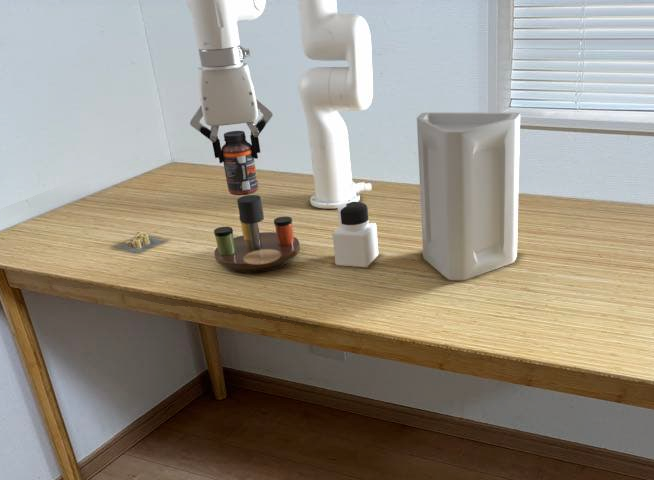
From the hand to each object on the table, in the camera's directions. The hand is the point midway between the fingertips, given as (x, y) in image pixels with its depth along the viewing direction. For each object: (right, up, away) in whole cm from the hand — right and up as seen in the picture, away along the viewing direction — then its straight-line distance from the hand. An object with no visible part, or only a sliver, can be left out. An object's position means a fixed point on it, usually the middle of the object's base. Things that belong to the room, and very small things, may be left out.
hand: (238, 158), depth 148 cm
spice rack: (+1, -15, +15) cm, 22 cm away
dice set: (-29, -11, +30) cm, 43 cm away
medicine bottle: (+22, -17, +13) cm, 31 cm away
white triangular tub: (+44, -20, +7) cm, 49 cm away
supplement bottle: (0, -6, +4) cm, 7 cm away
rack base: (+1, -17, +17) cm, 23 cm away
